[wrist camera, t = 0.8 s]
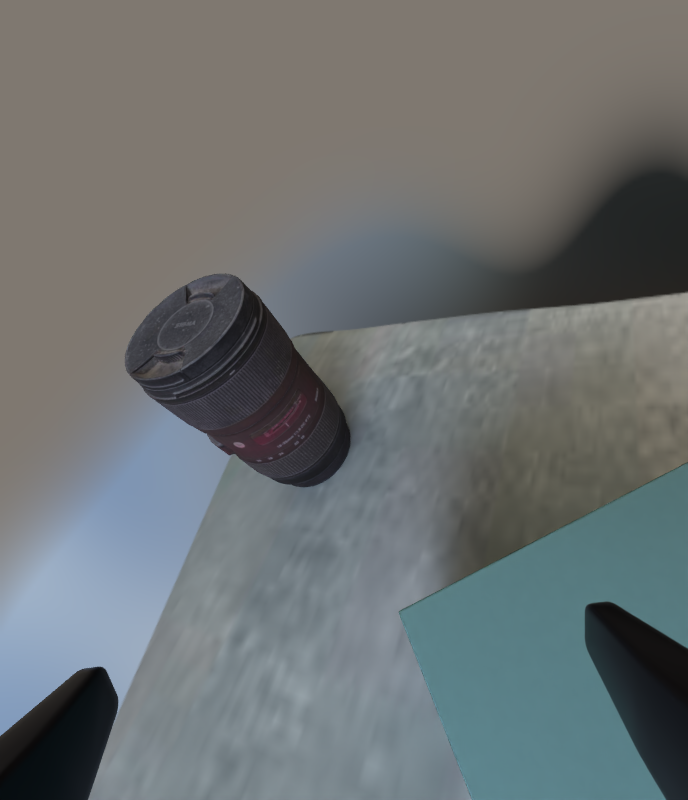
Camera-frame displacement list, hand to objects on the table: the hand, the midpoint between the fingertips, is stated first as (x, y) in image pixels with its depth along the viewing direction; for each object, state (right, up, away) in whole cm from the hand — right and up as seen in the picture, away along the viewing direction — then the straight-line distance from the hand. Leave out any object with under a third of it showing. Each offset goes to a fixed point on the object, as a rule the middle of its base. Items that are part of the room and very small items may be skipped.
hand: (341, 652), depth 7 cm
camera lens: (-2, +1, +25) cm, 25 cm away
